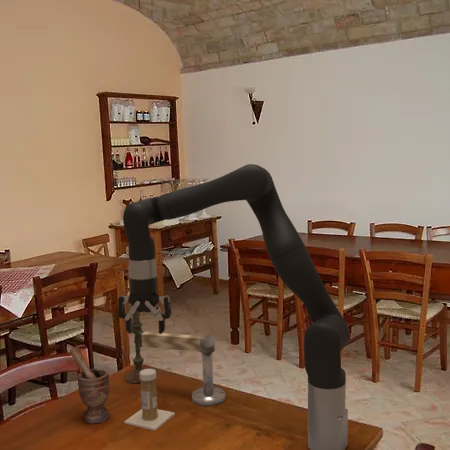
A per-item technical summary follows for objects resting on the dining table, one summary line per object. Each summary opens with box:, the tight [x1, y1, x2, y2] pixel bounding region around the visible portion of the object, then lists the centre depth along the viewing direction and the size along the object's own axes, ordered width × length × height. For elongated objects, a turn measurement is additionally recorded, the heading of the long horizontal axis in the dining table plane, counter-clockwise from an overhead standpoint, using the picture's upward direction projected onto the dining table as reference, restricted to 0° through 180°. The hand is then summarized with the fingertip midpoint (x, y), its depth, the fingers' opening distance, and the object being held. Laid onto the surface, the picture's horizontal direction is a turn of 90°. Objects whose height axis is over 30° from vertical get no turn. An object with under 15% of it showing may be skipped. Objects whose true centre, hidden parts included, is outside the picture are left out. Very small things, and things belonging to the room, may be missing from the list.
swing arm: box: [138, 330, 216, 354], centre depth 173 cm, size 24×4×4 cm, turn 74°
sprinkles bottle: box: [140, 368, 158, 420], centre depth 160 cm, size 5×5×13 cm
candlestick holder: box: [124, 305, 145, 385], centre depth 186 cm, size 9×9×30 cm
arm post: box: [191, 353, 226, 407], centre depth 172 cm, size 10×10×14 cm
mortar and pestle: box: [69, 346, 110, 424], centre depth 161 cm, size 12×9×20 cm
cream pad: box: [124, 408, 176, 432], centre depth 161 cm, size 10×10×1 cm
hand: (145, 332), depth 157 cm, fingers open, 8 cm apart
